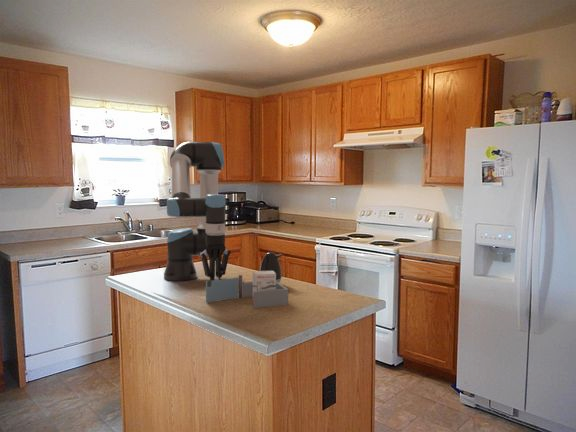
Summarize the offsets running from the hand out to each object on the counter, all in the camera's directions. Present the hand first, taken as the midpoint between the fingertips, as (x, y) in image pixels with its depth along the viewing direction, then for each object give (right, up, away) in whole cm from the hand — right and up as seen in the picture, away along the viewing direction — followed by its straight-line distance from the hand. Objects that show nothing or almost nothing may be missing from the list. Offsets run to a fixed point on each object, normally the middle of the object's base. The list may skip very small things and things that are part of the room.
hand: (215, 293), depth 165 cm
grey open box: (+19, -3, -1) cm, 19 cm away
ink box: (+19, -3, -2) cm, 20 cm away
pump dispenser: (+21, -1, +24) cm, 32 cm away
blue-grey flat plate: (+3, -2, 0) cm, 4 cm away
